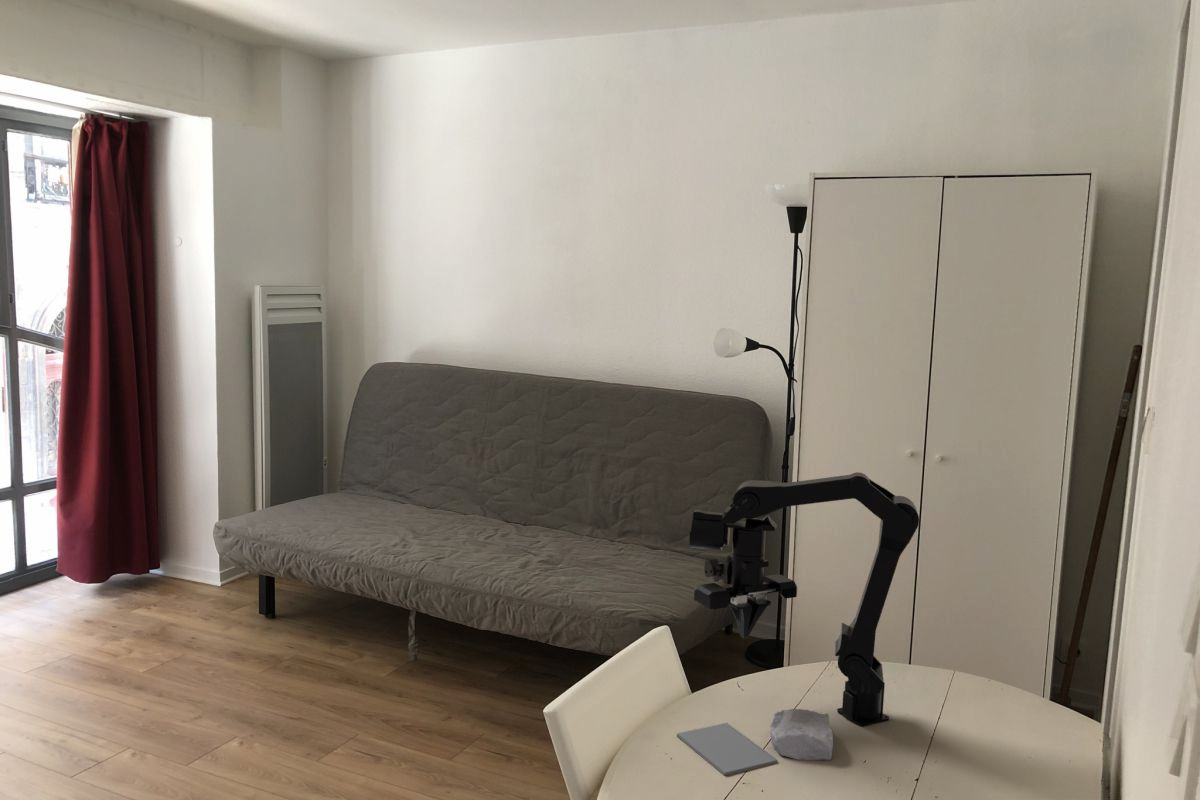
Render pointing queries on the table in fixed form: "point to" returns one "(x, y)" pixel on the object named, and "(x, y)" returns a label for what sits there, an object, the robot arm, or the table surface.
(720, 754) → the mat
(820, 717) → the stone block
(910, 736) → the table surface
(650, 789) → the table surface
